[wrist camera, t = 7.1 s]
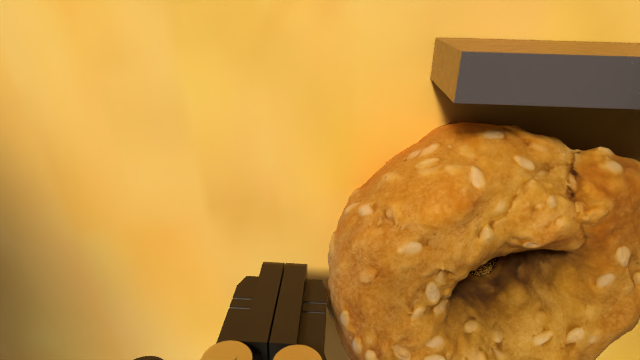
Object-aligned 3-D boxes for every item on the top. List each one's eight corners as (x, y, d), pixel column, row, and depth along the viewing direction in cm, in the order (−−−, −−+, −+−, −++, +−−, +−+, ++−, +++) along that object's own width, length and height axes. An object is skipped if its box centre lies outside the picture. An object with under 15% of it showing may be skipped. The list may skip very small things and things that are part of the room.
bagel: (638, 317, 16) (742, 434, 12) (363, 359, 18) (366, 474, 14) (641, 65, 13) (792, 103, 8) (295, 152, 15) (271, 219, 10)
